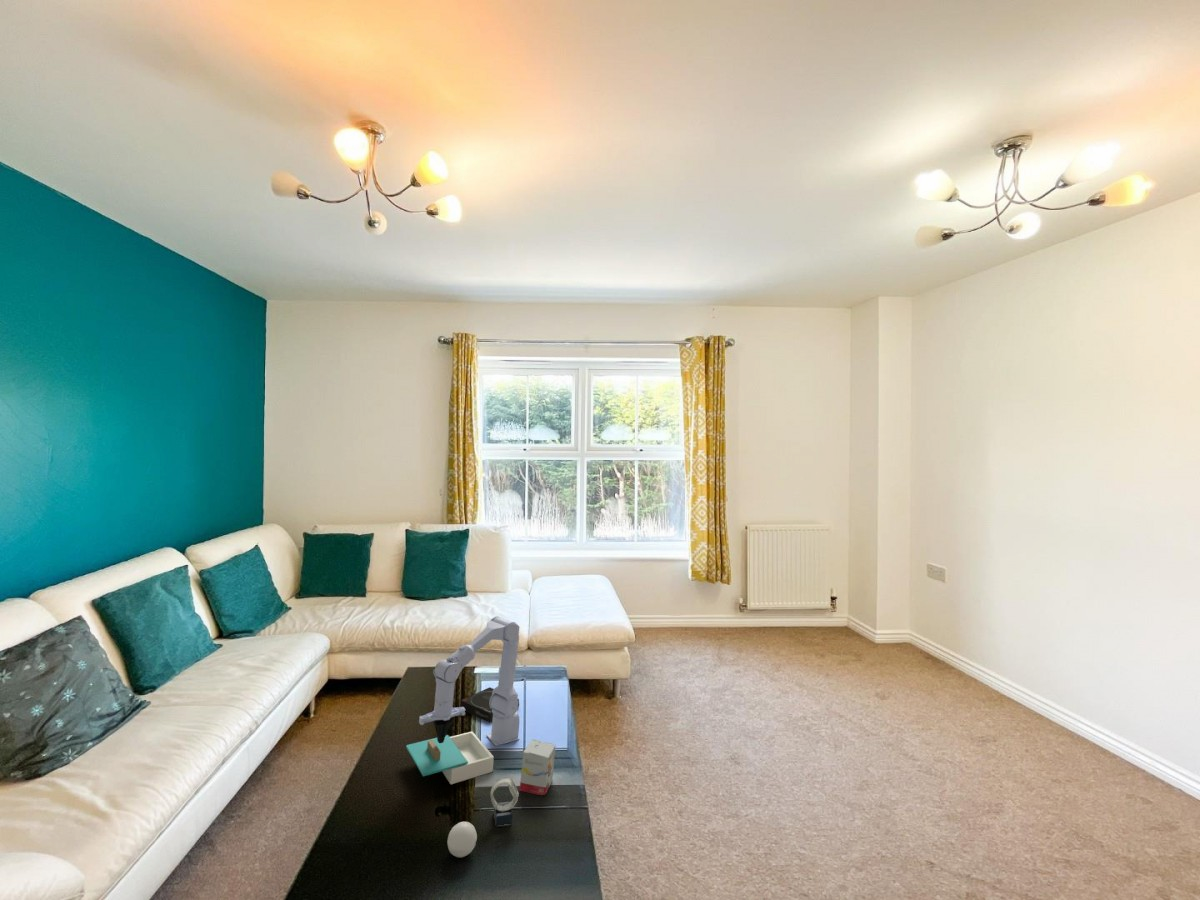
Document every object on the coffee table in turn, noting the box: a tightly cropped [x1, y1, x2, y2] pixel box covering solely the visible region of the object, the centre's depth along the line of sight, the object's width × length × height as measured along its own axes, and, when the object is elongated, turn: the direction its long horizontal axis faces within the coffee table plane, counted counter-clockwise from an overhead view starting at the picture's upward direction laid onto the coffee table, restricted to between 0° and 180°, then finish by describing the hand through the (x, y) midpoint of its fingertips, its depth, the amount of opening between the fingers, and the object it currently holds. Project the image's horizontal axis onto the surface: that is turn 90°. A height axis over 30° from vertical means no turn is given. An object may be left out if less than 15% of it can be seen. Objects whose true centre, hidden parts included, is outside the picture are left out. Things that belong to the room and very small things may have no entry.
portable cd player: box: [459, 686, 520, 723], centre depth 209 cm, size 16×17×4 cm
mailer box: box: [441, 731, 495, 785], centre depth 170 cm, size 14×18×5 cm
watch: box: [489, 777, 520, 826], centre depth 145 cm, size 6×8×11 cm
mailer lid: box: [405, 734, 468, 777], centre depth 165 cm, size 14×18×3 cm
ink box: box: [519, 739, 557, 796], centre depth 162 cm, size 9×9×12 cm
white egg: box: [446, 821, 478, 858], centre depth 133 cm, size 10×7×7 cm
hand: (440, 741), depth 166 cm, fingers closed
